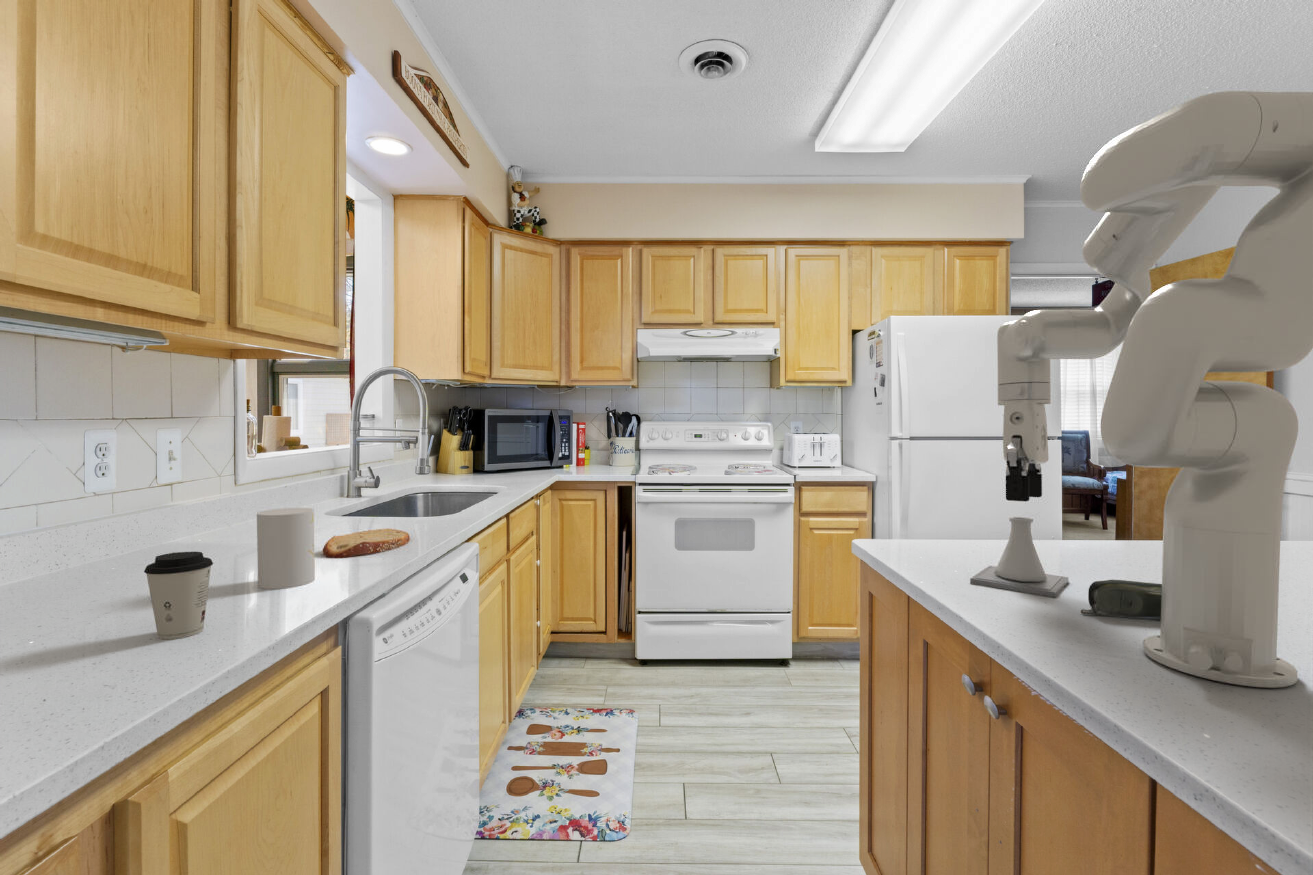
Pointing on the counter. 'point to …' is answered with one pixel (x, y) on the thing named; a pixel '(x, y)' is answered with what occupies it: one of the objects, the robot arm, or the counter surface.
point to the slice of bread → (365, 543)
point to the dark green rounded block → (1125, 599)
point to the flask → (1020, 554)
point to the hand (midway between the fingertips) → (1024, 498)
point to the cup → (285, 548)
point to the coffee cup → (179, 593)
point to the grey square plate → (1021, 583)
